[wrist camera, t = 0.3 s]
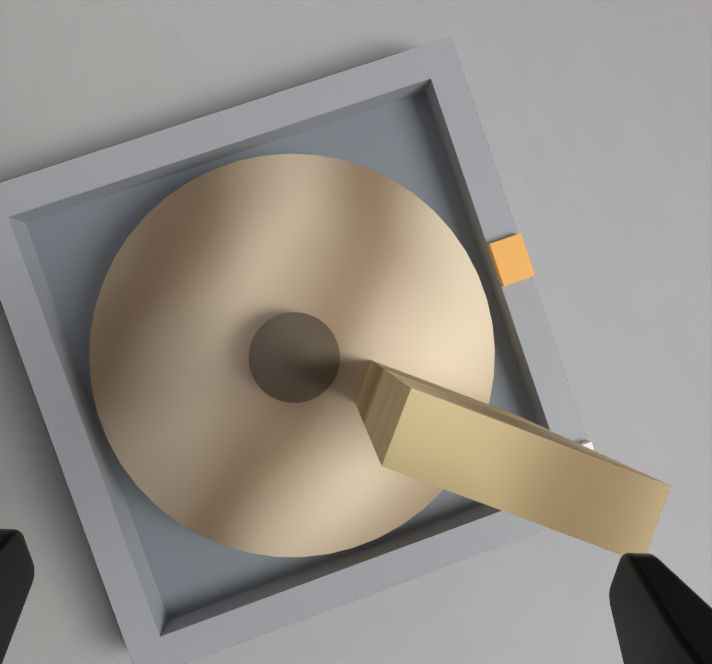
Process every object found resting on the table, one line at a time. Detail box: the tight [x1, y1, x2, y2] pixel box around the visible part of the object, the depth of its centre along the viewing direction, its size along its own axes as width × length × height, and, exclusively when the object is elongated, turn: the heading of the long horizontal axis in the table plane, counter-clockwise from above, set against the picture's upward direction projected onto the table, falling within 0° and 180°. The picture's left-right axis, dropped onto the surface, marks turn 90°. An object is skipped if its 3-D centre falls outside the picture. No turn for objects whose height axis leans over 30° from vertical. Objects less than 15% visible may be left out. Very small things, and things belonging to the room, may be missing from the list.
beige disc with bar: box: [89, 154, 671, 557], centre depth 17 cm, size 15×14×11 cm
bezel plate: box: [0, 36, 594, 664], centre depth 22 cm, size 18×18×2 cm
